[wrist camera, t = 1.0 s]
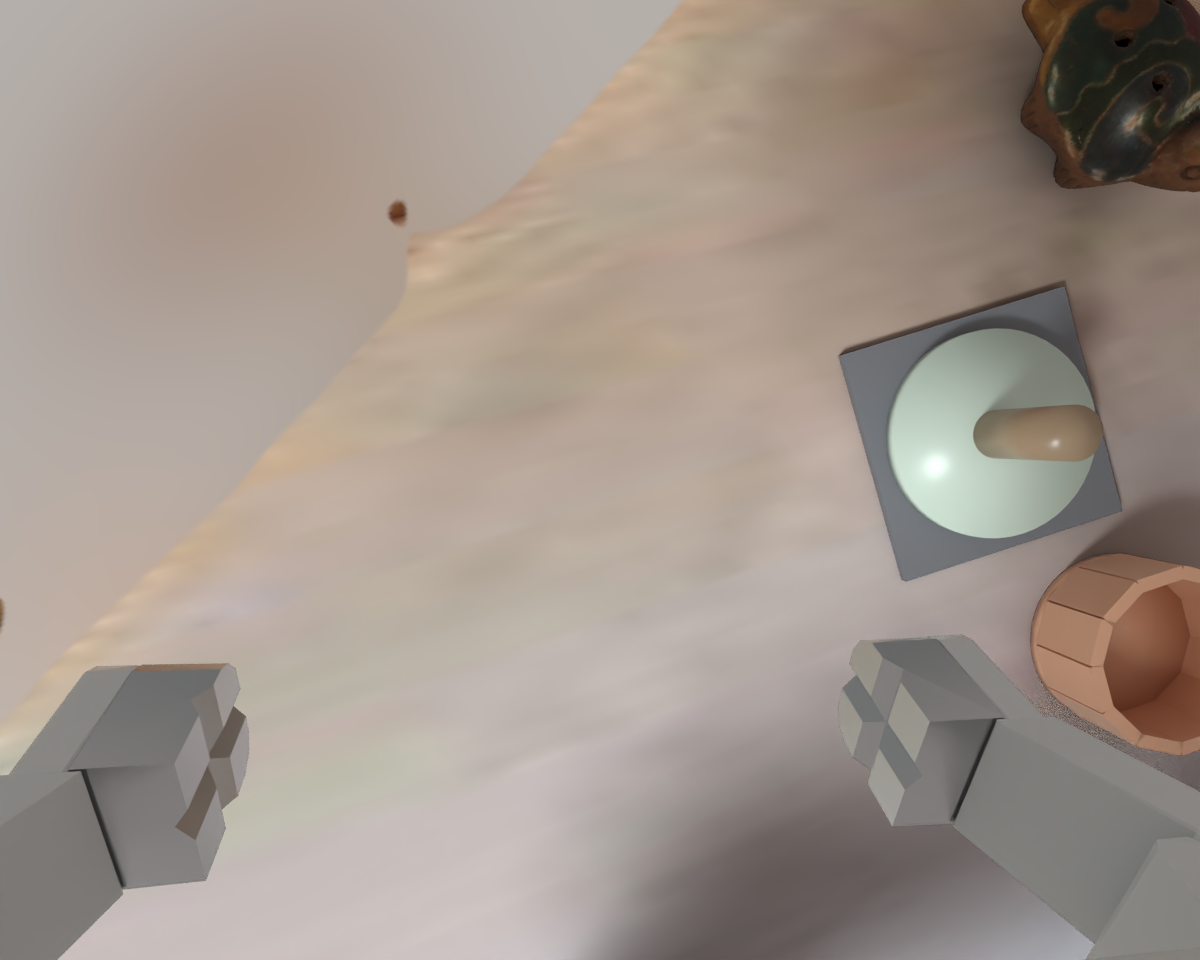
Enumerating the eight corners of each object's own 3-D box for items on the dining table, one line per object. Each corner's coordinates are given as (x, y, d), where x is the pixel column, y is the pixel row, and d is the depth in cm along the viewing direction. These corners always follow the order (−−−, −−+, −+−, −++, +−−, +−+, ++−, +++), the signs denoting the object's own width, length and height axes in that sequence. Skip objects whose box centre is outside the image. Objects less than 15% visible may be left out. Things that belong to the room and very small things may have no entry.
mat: (1115, 510, 47) (1122, 510, 47) (901, 579, 47) (906, 581, 46) (1058, 288, 46) (1064, 286, 46) (838, 356, 45) (842, 355, 45)
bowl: (1205, 687, 48) (1289, 719, 43) (1054, 739, 48) (1118, 777, 42) (1166, 532, 48) (1246, 544, 42) (1011, 583, 47) (1072, 601, 42)
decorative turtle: (1085, 261, 46) (1196, 224, 38) (937, 76, 45) (1020, -2, 37) (1196, 160, 46) (1329, 102, 38) (1051, -27, 45) (1158, -127, 37)
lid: (1104, 500, 46) (1218, 513, 38) (916, 561, 46) (992, 587, 38) (1053, 305, 46) (1159, 277, 38) (861, 365, 45) (927, 349, 37)
